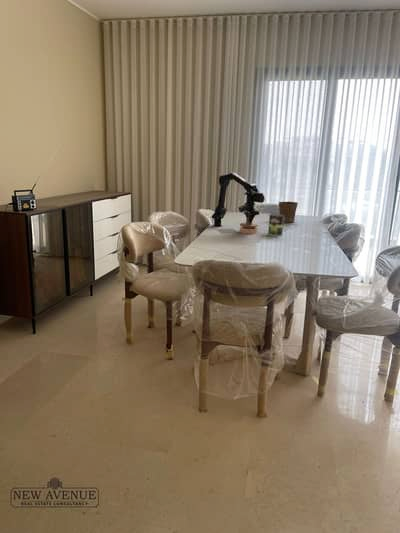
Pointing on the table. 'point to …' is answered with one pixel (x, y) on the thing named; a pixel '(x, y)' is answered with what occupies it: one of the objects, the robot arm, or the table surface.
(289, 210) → the plant pot
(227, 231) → the mat
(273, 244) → the table surface
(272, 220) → the coffee can
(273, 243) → the table surface
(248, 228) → the bowl
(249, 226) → the lid
